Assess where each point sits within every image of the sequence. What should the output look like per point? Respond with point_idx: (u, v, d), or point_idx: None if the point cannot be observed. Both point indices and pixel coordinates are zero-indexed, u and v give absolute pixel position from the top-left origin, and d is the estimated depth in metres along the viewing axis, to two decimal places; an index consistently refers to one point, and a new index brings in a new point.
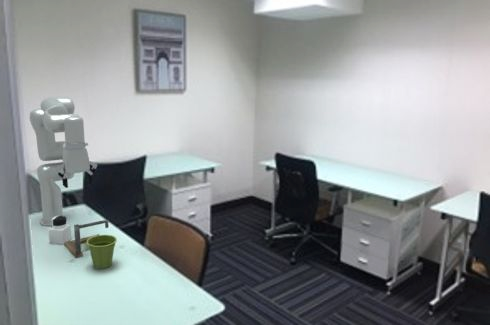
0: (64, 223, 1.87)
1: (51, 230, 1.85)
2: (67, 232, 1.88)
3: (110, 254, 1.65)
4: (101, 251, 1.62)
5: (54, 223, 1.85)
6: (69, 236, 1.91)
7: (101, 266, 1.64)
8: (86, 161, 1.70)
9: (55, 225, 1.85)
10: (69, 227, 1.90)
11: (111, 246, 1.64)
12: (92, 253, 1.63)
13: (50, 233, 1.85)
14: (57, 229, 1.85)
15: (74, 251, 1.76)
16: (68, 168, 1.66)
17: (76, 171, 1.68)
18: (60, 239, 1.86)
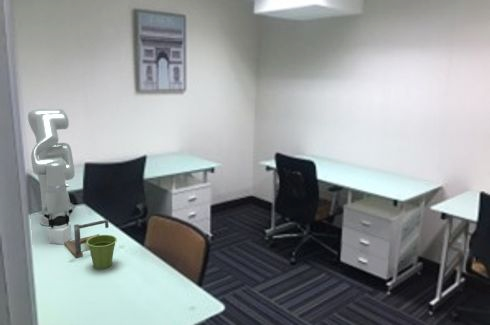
0: (64, 223, 1.87)
1: (51, 230, 1.85)
2: (67, 232, 1.88)
3: (110, 254, 1.65)
4: (101, 251, 1.62)
5: (54, 223, 1.85)
6: (69, 236, 1.91)
7: (101, 266, 1.64)
8: (67, 202, 1.86)
9: (55, 225, 1.85)
10: (69, 227, 1.90)
11: (111, 246, 1.64)
12: (92, 253, 1.63)
13: (50, 233, 1.85)
14: (57, 229, 1.85)
15: (74, 251, 1.76)
16: (50, 209, 1.82)
17: (57, 211, 1.84)
18: (60, 239, 1.86)
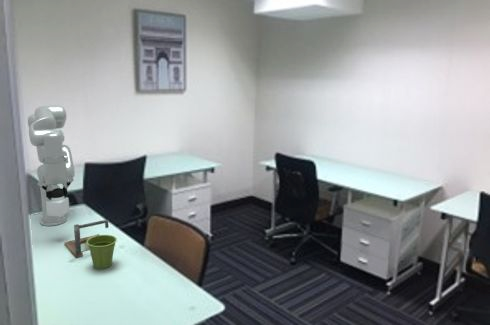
0: (62, 195, 1.84)
1: (49, 202, 1.83)
2: (64, 204, 1.86)
3: (110, 254, 1.65)
4: (101, 251, 1.62)
5: (52, 195, 1.82)
6: (67, 209, 1.88)
7: (101, 266, 1.64)
8: (65, 173, 1.83)
9: (53, 197, 1.82)
10: (67, 200, 1.88)
11: (111, 246, 1.64)
12: (92, 253, 1.63)
13: (48, 205, 1.83)
14: (55, 201, 1.83)
15: (74, 251, 1.76)
16: (47, 180, 1.79)
17: (55, 183, 1.82)
18: (57, 211, 1.83)
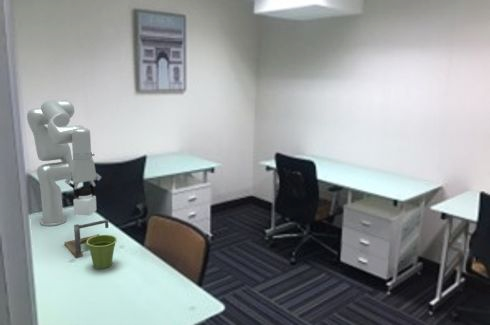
0: (90, 193, 1.78)
1: (76, 200, 1.76)
2: (92, 202, 1.80)
3: (110, 254, 1.65)
4: (101, 251, 1.62)
5: (80, 193, 1.76)
6: (94, 207, 1.82)
7: (101, 266, 1.64)
8: (92, 171, 1.77)
9: (80, 195, 1.76)
10: (94, 198, 1.82)
11: (111, 246, 1.64)
12: (92, 253, 1.63)
13: (75, 203, 1.77)
14: (82, 199, 1.76)
15: (74, 251, 1.76)
16: (75, 178, 1.73)
17: (83, 180, 1.76)
18: (85, 210, 1.77)
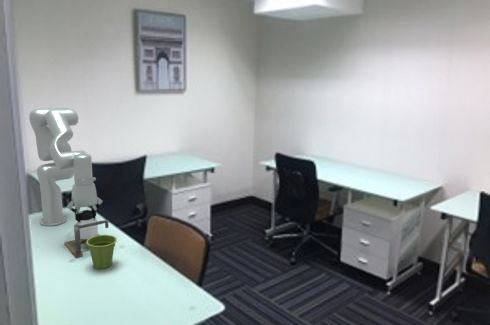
0: (91, 217, 1.81)
1: None
2: (94, 226, 1.82)
3: (110, 254, 1.65)
4: (101, 251, 1.62)
5: (81, 217, 1.78)
6: (96, 231, 1.84)
7: (101, 266, 1.64)
8: (94, 195, 1.80)
9: (82, 219, 1.79)
10: None
11: (111, 246, 1.64)
12: (92, 253, 1.63)
13: None
14: None
15: (74, 251, 1.76)
16: (77, 203, 1.76)
17: (84, 205, 1.78)
18: (87, 234, 1.79)
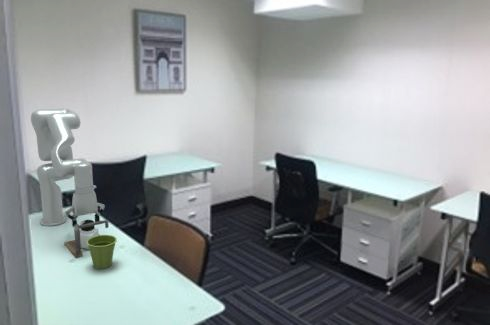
0: (92, 228, 1.81)
1: None
2: None
3: (110, 254, 1.65)
4: (101, 251, 1.62)
5: (83, 228, 1.79)
6: None
7: (101, 266, 1.64)
8: (94, 203, 1.81)
9: (83, 230, 1.79)
10: (97, 231, 1.85)
11: (111, 246, 1.64)
12: (92, 253, 1.63)
13: None
14: (85, 234, 1.79)
15: (74, 251, 1.76)
16: (77, 211, 1.77)
17: (85, 213, 1.79)
18: (87, 244, 1.80)
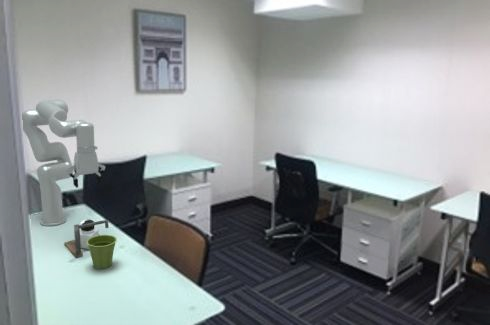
0: (92, 228, 1.81)
1: None
2: None
3: (110, 254, 1.65)
4: (101, 251, 1.62)
5: (83, 228, 1.79)
6: None
7: (101, 266, 1.64)
8: (95, 163, 1.85)
9: (83, 230, 1.79)
10: (97, 231, 1.85)
11: (111, 246, 1.64)
12: (92, 253, 1.63)
13: None
14: (85, 234, 1.79)
15: (74, 251, 1.76)
16: (79, 170, 1.81)
17: (86, 172, 1.84)
18: (87, 244, 1.80)
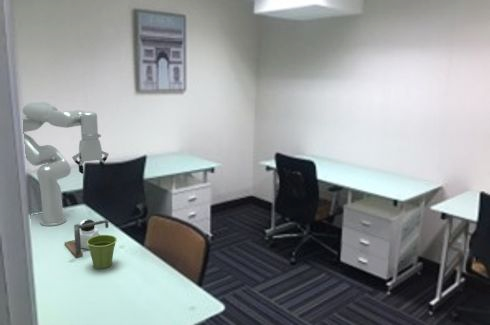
0: (92, 228, 1.81)
1: None
2: None
3: (110, 254, 1.65)
4: (101, 251, 1.62)
5: (83, 228, 1.79)
6: None
7: (101, 266, 1.64)
8: (99, 150, 1.96)
9: (83, 230, 1.79)
10: (97, 231, 1.85)
11: (111, 246, 1.64)
12: (92, 253, 1.63)
13: None
14: (85, 234, 1.79)
15: (74, 251, 1.76)
16: (84, 156, 1.92)
17: (90, 159, 1.95)
18: (87, 244, 1.80)
